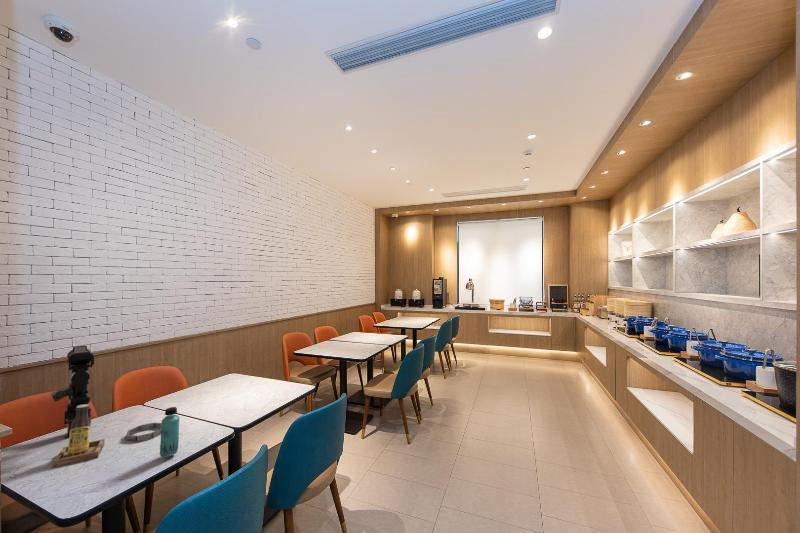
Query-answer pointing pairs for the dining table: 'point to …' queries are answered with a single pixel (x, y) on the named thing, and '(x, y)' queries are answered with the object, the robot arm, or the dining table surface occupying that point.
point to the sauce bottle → (79, 432)
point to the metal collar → (134, 438)
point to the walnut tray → (92, 453)
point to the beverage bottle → (169, 433)
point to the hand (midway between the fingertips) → (77, 414)
